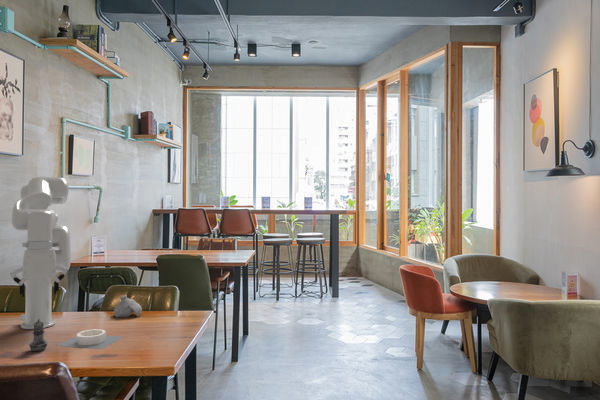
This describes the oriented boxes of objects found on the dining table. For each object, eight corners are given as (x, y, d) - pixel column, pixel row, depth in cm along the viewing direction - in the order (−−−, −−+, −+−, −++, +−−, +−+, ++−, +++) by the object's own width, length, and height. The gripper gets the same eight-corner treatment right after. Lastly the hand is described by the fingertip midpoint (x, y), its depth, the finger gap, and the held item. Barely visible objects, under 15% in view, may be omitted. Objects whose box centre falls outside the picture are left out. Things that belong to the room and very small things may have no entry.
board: (56, 348, 159) (56, 345, 159) (82, 336, 172) (82, 333, 172) (101, 352, 156) (101, 349, 156) (124, 340, 169) (124, 336, 169)
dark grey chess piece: (34, 350, 157) (34, 316, 157) (51, 350, 157) (51, 316, 157) (25, 356, 151) (25, 321, 151) (43, 356, 151) (43, 321, 151)
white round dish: (71, 344, 160) (71, 336, 160) (88, 336, 169) (88, 328, 169) (94, 346, 159) (94, 337, 159) (110, 338, 168) (110, 330, 168)
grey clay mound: (117, 325, 198) (110, 303, 196) (115, 318, 208) (108, 298, 207) (144, 315, 203) (137, 293, 201) (141, 309, 213) (134, 288, 212)
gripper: (9, 248, 147) (9, 299, 147) (68, 245, 155) (67, 294, 155) (11, 245, 153) (10, 295, 153) (67, 243, 162) (66, 290, 162)
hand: (39, 294), depth 154 cm, fingers open, 9 cm apart
